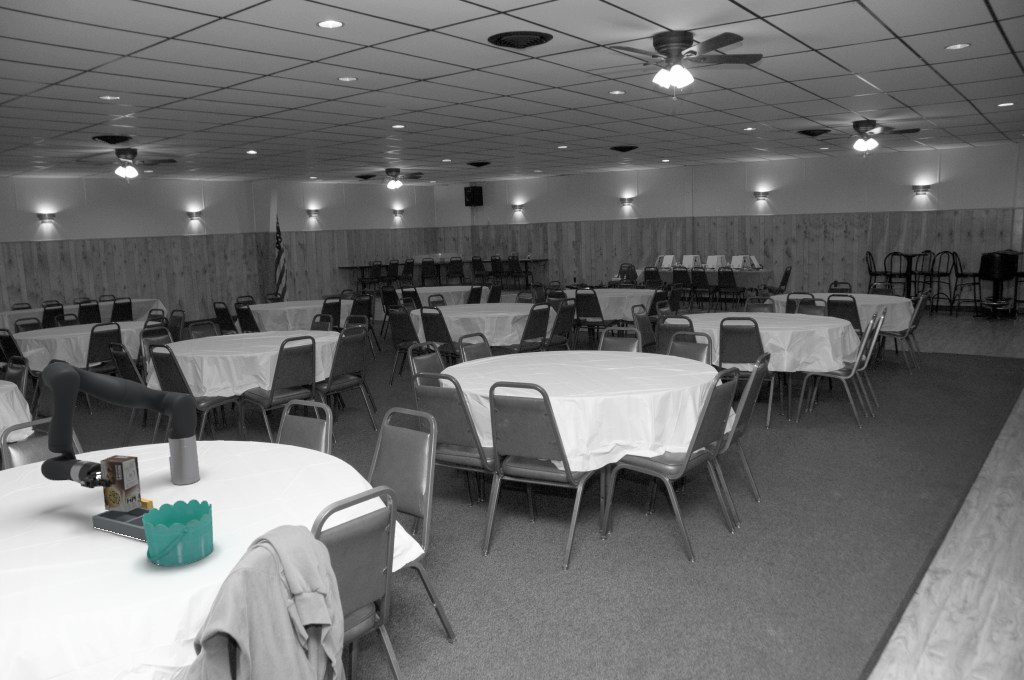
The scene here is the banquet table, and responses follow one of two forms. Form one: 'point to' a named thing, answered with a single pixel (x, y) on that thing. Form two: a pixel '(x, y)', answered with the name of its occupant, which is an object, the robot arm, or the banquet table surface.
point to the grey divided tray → (125, 520)
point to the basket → (179, 532)
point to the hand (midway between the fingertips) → (120, 480)
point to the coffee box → (121, 483)
